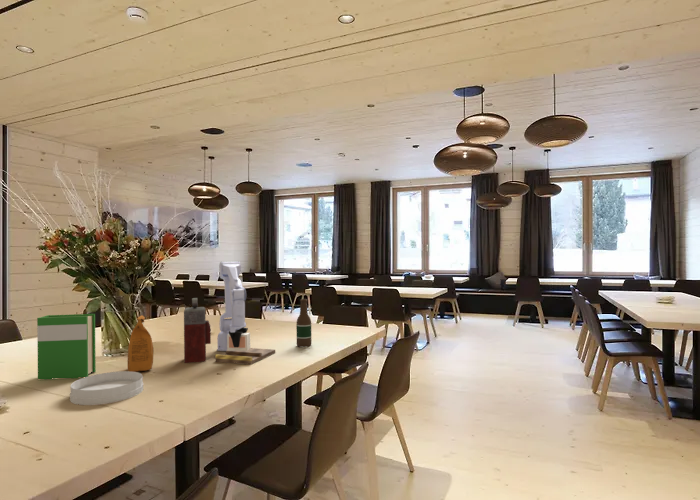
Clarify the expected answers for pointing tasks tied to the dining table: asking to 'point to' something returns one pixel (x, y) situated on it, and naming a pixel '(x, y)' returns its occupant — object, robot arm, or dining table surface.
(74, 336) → the hardback book
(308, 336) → the beer bottle
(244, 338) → the label carton
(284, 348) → the dining table surface
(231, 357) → the shelf board
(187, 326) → the dark red canister
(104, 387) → the dish
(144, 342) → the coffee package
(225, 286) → the robot arm
